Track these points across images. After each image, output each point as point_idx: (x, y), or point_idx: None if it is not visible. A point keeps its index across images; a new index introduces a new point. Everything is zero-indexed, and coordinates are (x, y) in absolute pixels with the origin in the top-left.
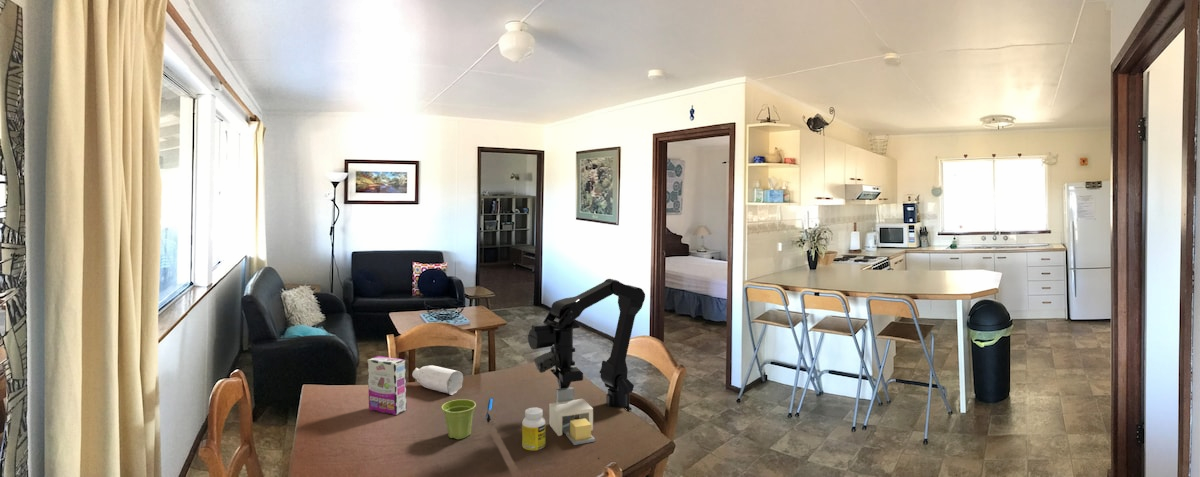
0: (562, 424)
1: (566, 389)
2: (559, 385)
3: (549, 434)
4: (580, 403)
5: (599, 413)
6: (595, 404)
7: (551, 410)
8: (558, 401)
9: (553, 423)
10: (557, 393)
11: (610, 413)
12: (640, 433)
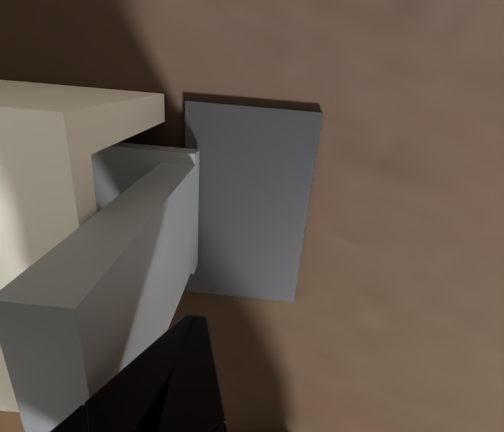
0: (126, 177)
1: (27, 410)
2: (165, 400)
3: (93, 64)
4: (2, 368)
5: (255, 394)
6: (361, 422)
7: (18, 100)
8: (86, 227)
9: (28, 89)
10: (53, 272)
11: (233, 425)
12: (7, 423)
